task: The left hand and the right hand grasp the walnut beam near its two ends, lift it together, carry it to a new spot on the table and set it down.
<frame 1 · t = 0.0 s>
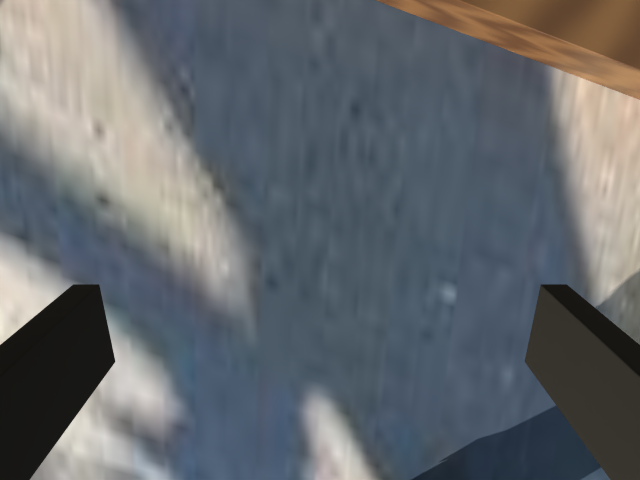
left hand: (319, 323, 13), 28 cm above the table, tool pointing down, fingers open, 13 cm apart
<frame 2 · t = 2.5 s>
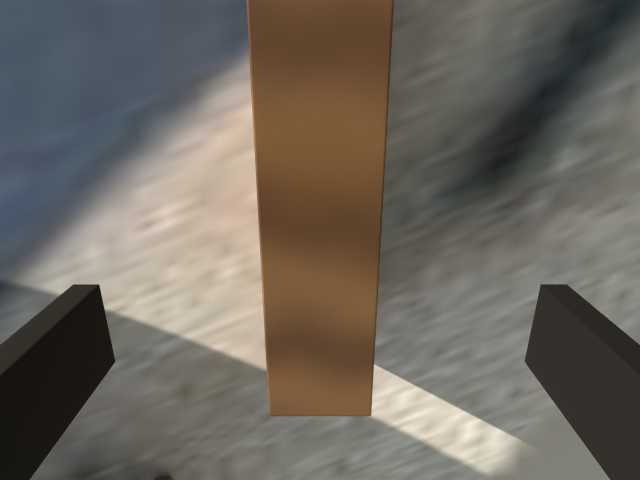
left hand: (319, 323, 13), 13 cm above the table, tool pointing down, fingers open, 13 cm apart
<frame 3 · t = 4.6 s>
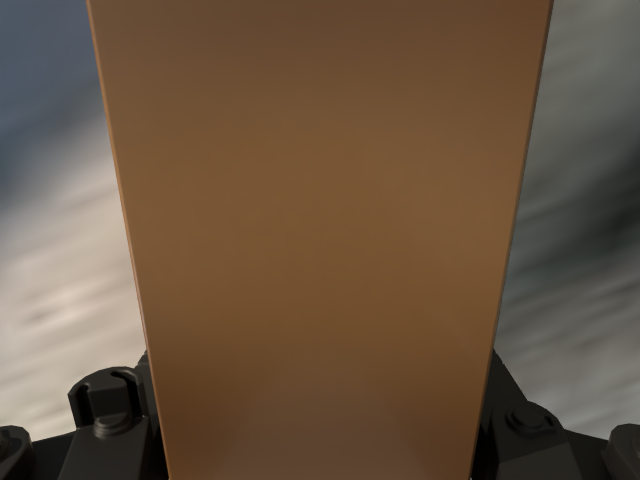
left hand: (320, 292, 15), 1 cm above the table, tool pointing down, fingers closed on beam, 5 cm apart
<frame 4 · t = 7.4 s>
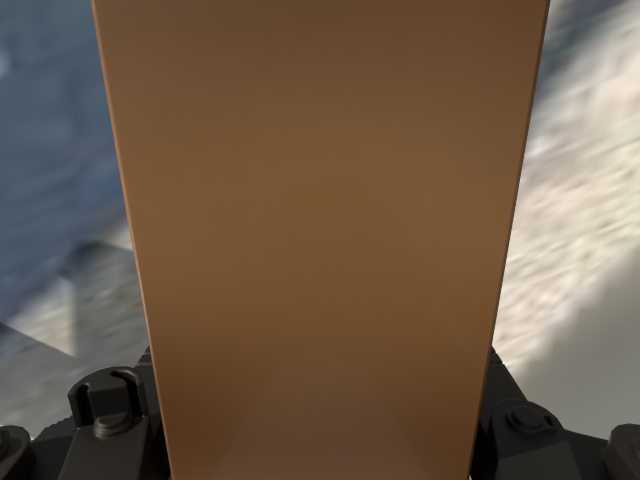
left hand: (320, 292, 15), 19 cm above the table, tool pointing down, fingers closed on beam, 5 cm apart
toy: (164, 454, 42), on the table
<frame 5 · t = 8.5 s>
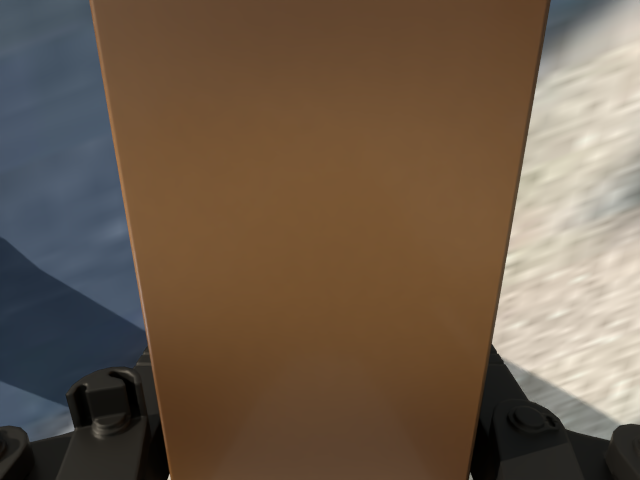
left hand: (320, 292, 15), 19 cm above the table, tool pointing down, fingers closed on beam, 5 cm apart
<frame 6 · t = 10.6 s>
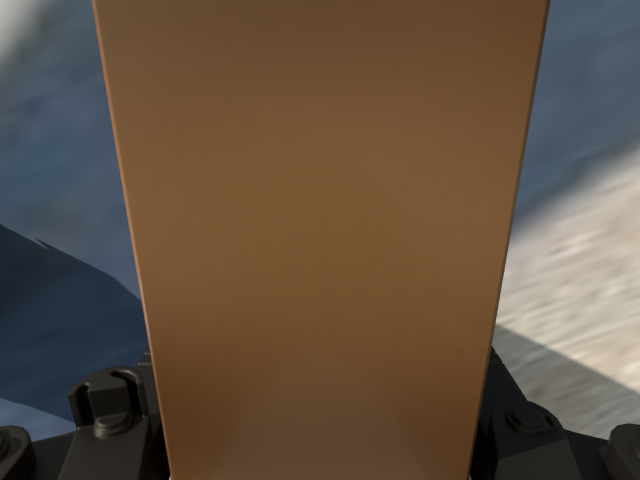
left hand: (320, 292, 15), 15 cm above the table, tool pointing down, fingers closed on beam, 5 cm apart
when the left hand's fingers open (2 cm above the table, at t = 12.4 s): beam stays where it is, on the table.
when the right hand's fingers open (5 cm above the table, at t = 12.6 s): beam stays where it is, on the table.
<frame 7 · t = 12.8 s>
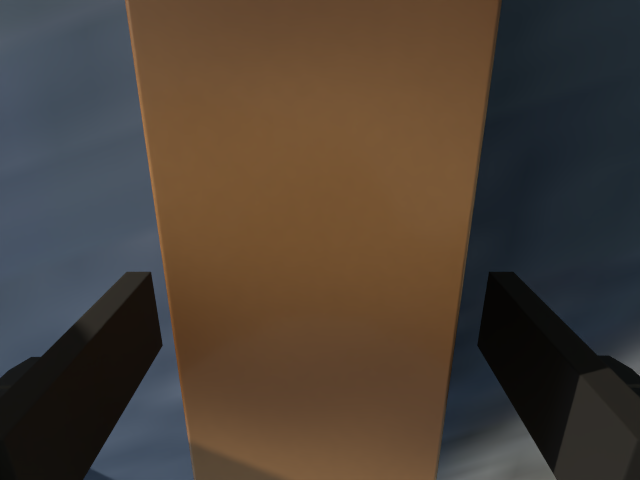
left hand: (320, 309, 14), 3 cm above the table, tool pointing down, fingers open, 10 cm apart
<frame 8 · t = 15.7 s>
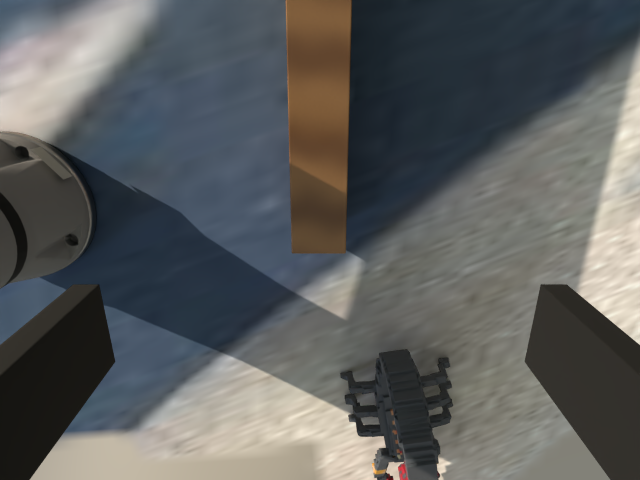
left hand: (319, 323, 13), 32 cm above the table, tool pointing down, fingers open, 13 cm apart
toy: (393, 397, 54), on the table
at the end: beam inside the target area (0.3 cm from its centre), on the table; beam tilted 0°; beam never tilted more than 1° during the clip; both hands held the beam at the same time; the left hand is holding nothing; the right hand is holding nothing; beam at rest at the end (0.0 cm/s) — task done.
